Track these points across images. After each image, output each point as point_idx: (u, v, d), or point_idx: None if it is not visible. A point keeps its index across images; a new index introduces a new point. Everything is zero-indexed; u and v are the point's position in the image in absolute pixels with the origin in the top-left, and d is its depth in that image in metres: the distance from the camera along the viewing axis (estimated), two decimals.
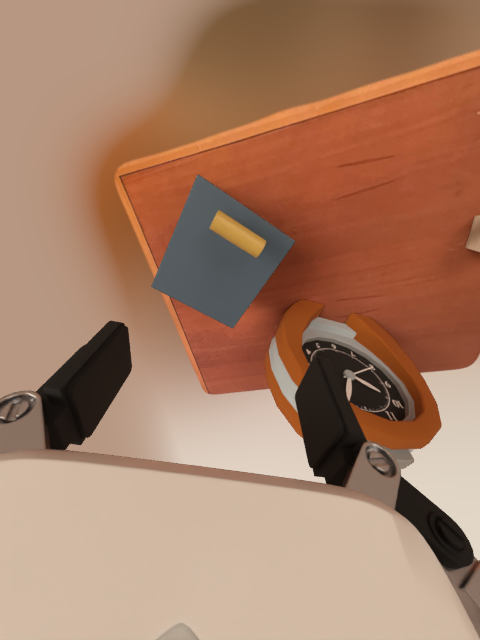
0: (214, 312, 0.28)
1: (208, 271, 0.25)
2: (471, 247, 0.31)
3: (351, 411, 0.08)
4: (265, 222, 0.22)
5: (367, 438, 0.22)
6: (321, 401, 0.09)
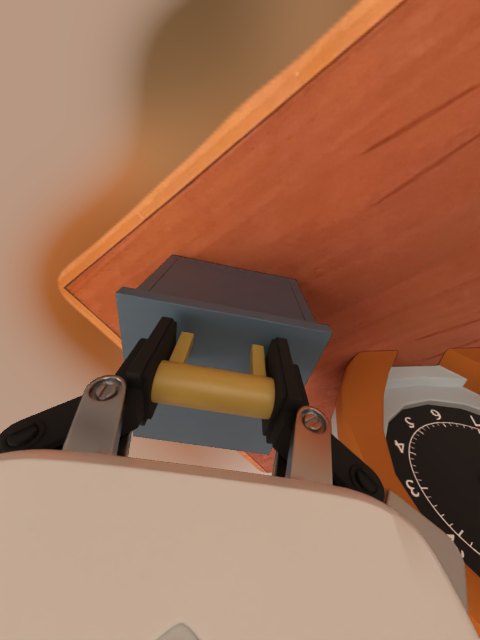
0: (233, 444, 0.18)
1: None
2: None
3: (295, 380, 0.09)
4: (264, 322, 0.12)
5: None
6: (273, 374, 0.10)
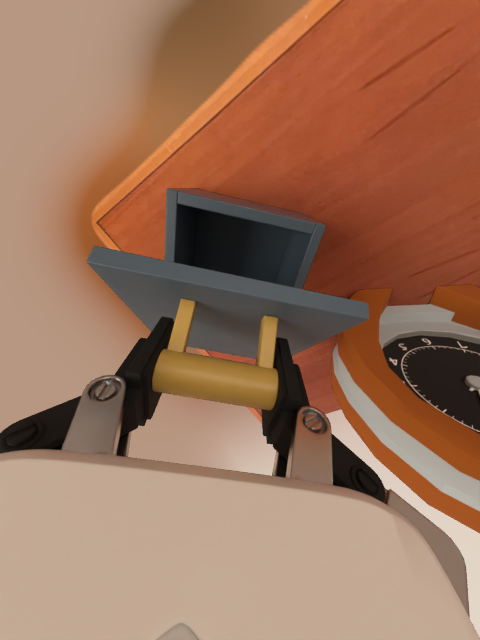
0: (246, 355, 0.21)
1: (214, 337, 0.16)
2: None
3: (296, 381, 0.09)
4: (281, 302, 0.09)
5: None
6: None
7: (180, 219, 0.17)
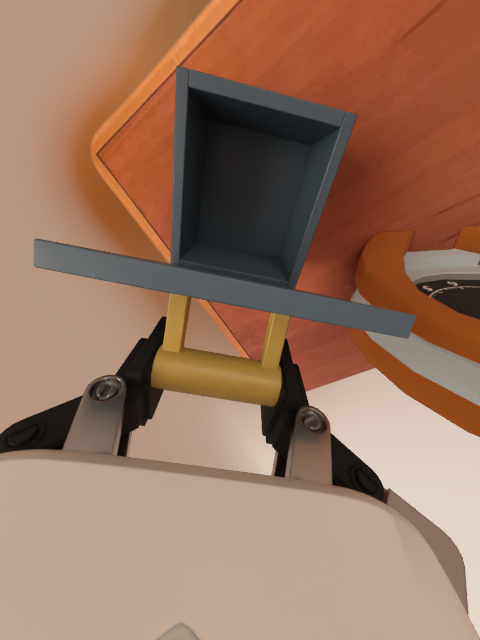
0: None
1: None
2: None
3: (295, 380, 0.09)
4: (294, 316, 0.07)
5: None
6: None
7: (190, 116, 0.15)
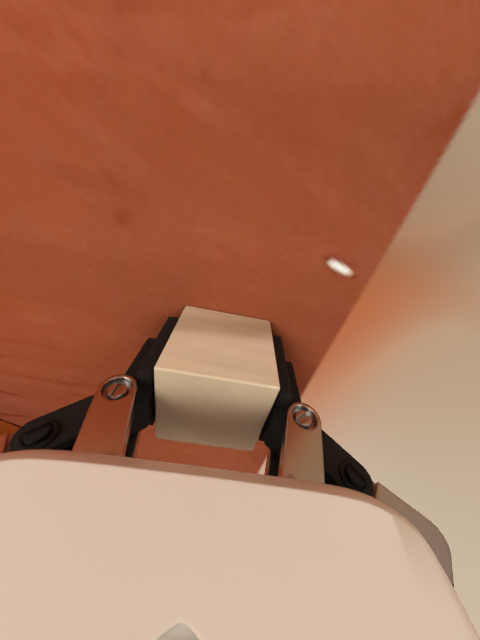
0: None
1: None
2: None
3: (287, 378, 0.09)
4: None
5: None
6: None
7: None
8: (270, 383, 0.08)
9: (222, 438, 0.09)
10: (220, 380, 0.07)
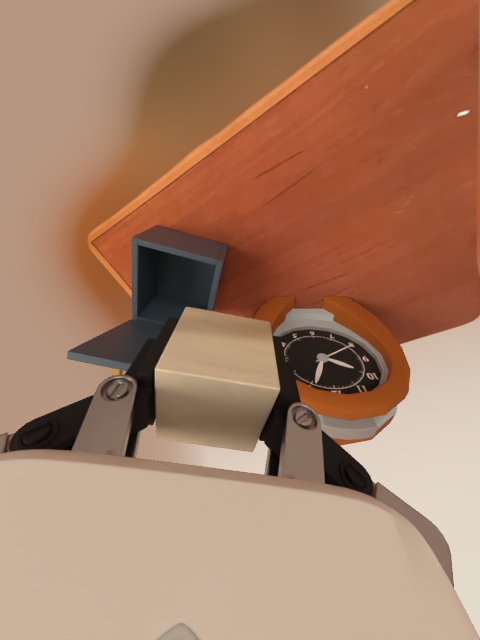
0: None
1: None
2: None
3: (287, 377, 0.09)
4: None
5: (325, 414, 0.24)
6: None
7: (141, 251, 0.29)
8: (270, 384, 0.08)
9: (222, 438, 0.09)
10: (220, 381, 0.07)
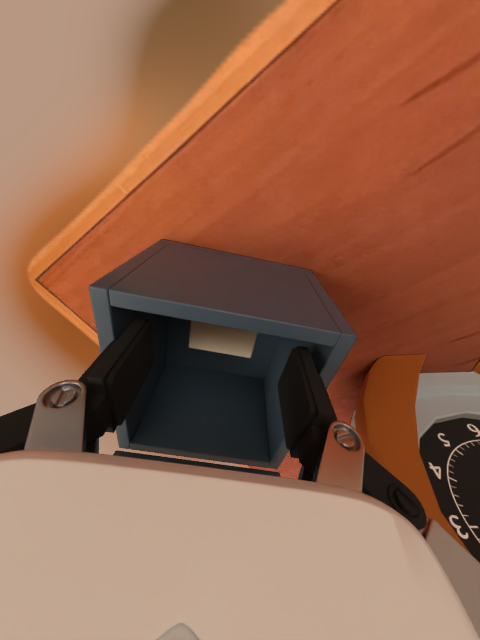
0: None
1: None
2: None
3: (323, 393, 0.09)
4: None
5: None
6: (297, 386, 0.10)
7: (125, 315, 0.11)
8: None
9: (231, 346, 0.15)
10: None
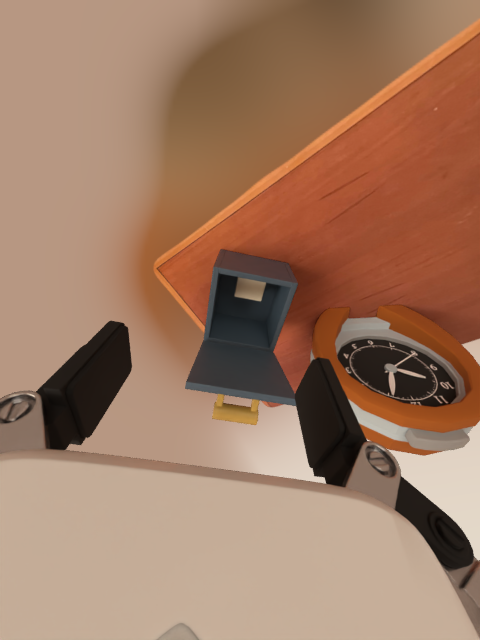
0: None
1: None
2: None
3: (351, 411, 0.08)
4: (260, 399, 0.23)
5: (415, 427, 0.25)
6: (321, 401, 0.09)
7: (218, 278, 0.31)
8: None
9: (253, 295, 0.35)
10: None
